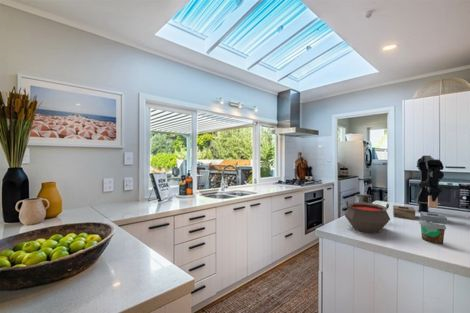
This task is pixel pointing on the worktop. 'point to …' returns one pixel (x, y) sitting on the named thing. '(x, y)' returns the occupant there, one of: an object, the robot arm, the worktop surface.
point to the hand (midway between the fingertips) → (432, 200)
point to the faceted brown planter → (367, 216)
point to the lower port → (433, 217)
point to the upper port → (404, 212)
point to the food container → (432, 231)
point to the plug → (431, 203)
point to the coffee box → (363, 198)
